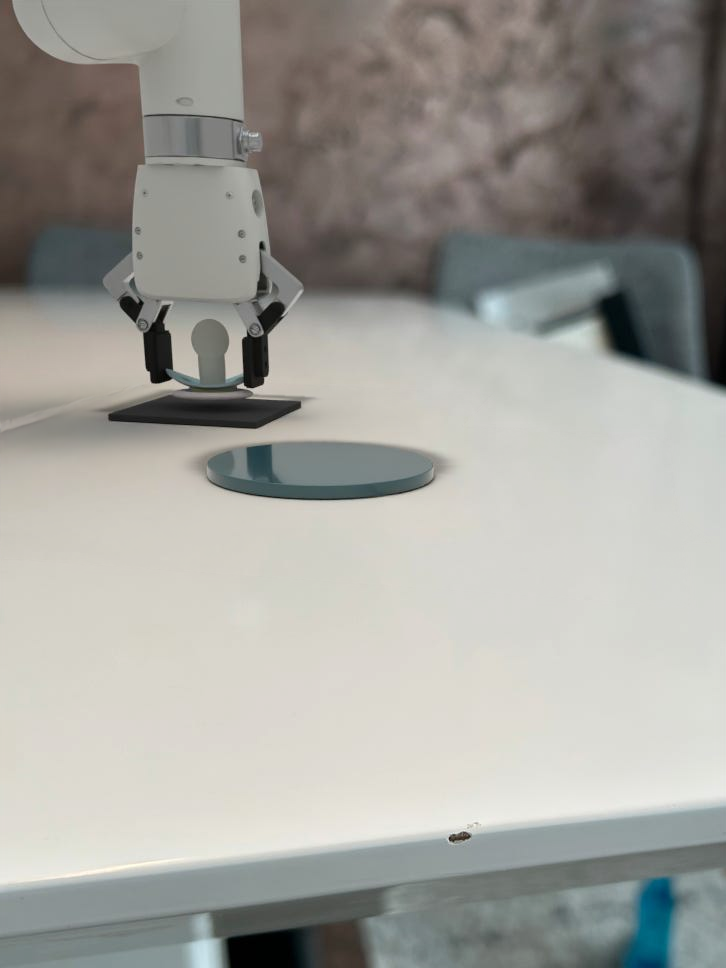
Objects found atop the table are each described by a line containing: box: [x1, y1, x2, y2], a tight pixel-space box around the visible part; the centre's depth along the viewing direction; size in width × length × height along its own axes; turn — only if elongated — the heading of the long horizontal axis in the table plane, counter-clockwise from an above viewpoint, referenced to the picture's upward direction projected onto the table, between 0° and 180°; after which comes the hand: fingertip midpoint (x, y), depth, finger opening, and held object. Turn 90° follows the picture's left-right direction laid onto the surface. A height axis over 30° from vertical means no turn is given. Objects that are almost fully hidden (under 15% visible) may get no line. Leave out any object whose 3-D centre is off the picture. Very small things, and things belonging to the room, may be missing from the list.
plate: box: [206, 441, 435, 500], centre depth 69 cm, size 14×14×1 cm
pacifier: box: [166, 318, 254, 401], centre depth 90 cm, size 7×6×6 cm
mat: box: [107, 394, 302, 429], centre depth 91 cm, size 12×12×1 cm
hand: (208, 382), depth 90 cm, fingers closed on pacifier, 7 cm apart
